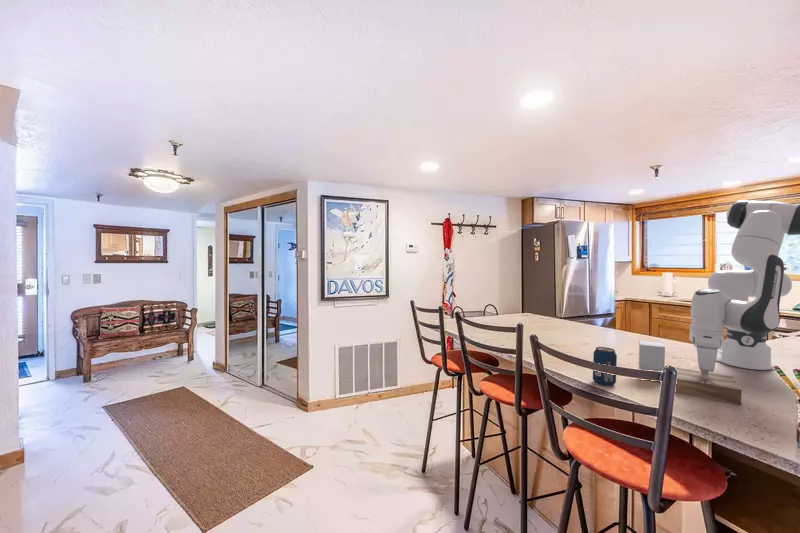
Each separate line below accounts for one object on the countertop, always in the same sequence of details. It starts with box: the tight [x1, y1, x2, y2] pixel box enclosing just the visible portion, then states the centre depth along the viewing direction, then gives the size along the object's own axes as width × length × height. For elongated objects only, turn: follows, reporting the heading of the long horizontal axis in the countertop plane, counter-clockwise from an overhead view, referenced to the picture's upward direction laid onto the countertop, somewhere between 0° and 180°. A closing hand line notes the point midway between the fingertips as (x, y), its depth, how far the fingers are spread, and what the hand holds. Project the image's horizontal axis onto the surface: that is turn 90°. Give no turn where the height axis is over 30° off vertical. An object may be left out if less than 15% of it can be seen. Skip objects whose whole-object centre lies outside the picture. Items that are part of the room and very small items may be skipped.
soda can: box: [592, 346, 618, 388], centre depth 126 cm, size 7×7×12 cm
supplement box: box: [638, 340, 666, 371], centre depth 132 cm, size 7×7×13 cm
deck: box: [675, 367, 743, 406], centre depth 123 cm, size 24×16×4 cm, turn 142°
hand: (704, 377), depth 124 cm, fingers closed
